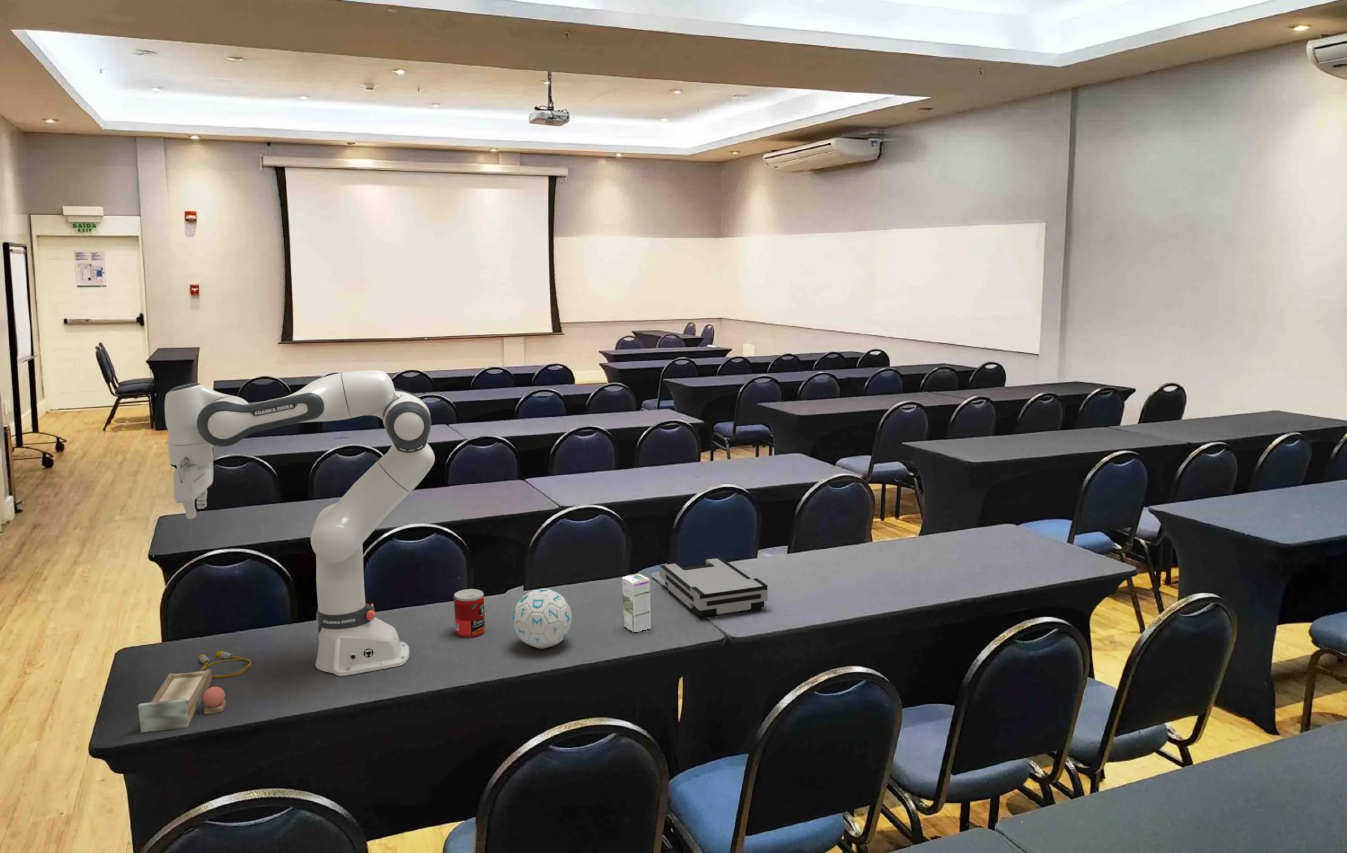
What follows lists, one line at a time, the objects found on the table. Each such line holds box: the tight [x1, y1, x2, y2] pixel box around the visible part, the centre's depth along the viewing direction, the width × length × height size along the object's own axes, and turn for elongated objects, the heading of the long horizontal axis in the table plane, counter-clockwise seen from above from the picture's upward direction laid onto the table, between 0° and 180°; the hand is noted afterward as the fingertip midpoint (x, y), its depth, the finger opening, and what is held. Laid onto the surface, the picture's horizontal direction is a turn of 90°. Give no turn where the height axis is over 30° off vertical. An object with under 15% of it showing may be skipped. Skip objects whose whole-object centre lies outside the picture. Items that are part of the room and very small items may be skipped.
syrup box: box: [621, 573, 652, 634], centre depth 253 cm, size 6×6×14 cm
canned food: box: [453, 588, 486, 638], centre depth 251 cm, size 8×8×11 cm
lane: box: [137, 668, 213, 733], centre depth 211 cm, size 9×24×6 cm, turn 14°
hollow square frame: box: [203, 699, 227, 715], centre depth 209 cm, size 4×4×1 cm
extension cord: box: [198, 650, 252, 679], centre depth 232 cm, size 12×16×2 cm
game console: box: [658, 557, 769, 620], centre depth 276 cm, size 21×32×8 cm, turn 21°
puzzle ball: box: [512, 588, 573, 649], centre depth 242 cm, size 15×15×15 cm
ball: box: [202, 686, 226, 707], centre depth 208 cm, size 4×4×4 cm
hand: (196, 512), depth 217 cm, fingers open, 8 cm apart
